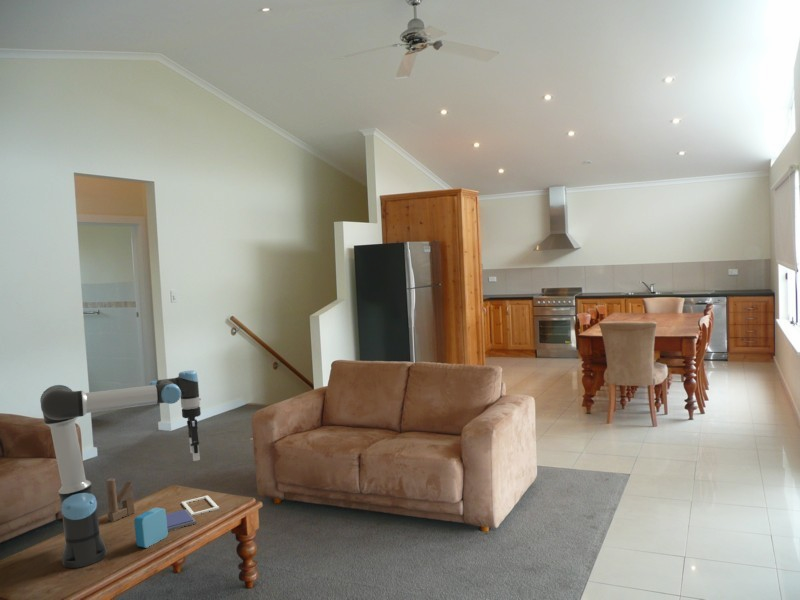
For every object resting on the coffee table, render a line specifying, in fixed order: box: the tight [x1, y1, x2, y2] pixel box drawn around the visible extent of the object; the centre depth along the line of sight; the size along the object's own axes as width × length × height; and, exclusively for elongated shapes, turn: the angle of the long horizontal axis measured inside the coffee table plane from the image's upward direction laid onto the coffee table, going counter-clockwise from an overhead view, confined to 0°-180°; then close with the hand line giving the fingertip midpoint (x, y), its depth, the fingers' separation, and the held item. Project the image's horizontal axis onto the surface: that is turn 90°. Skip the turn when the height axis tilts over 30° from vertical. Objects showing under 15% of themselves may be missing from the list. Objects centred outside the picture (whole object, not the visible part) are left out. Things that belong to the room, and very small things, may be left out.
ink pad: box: [166, 508, 197, 532], centre depth 271 cm, size 15×17×2 cm
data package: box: [133, 507, 169, 549], centre depth 252 cm, size 12×4×12 cm, turn 155°
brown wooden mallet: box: [105, 477, 136, 522], centre depth 281 cm, size 4×11×18 cm, turn 147°
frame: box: [180, 495, 220, 517], centre depth 288 cm, size 12×19×1 cm, turn 31°
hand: (195, 456), depth 274 cm, fingers open, 13 cm apart
